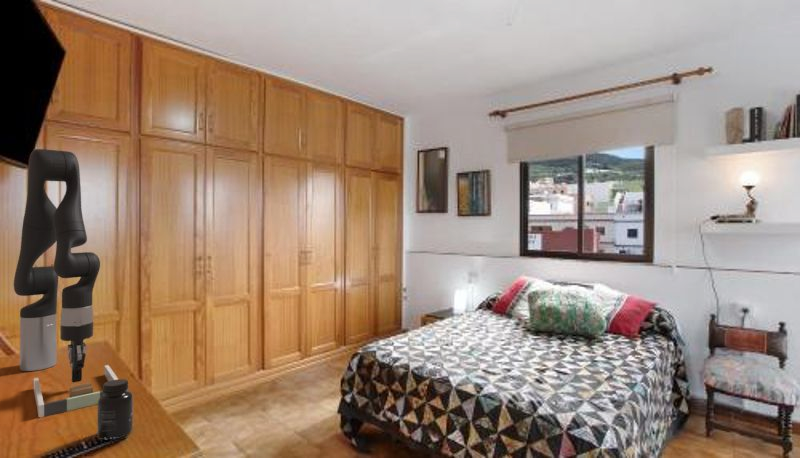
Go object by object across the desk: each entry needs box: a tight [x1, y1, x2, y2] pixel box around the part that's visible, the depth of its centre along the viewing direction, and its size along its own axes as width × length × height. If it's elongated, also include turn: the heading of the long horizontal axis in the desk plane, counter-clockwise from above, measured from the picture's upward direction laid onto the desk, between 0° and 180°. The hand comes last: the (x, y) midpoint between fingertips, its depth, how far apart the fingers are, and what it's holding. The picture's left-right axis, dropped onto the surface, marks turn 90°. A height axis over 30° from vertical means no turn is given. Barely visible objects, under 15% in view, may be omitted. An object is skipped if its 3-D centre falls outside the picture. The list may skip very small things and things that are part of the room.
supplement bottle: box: [96, 378, 134, 439], centre depth 97 cm, size 7×7×12 cm
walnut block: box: [69, 381, 94, 398], centre depth 113 cm, size 4×4×4 cm
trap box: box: [33, 364, 119, 418], centre depth 120 cm, size 24×18×3 cm
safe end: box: [66, 391, 100, 412], centre depth 111 cm, size 1×7×3 cm, turn 133°
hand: (76, 381), depth 122 cm, fingers closed
